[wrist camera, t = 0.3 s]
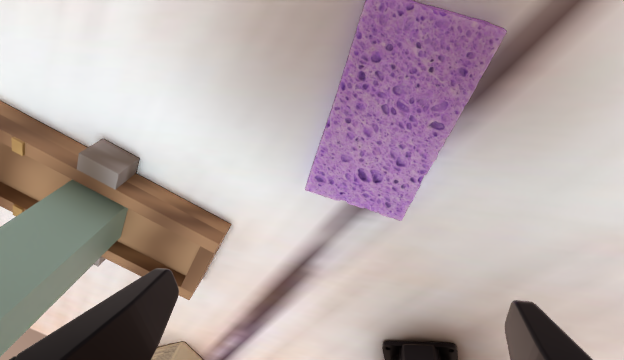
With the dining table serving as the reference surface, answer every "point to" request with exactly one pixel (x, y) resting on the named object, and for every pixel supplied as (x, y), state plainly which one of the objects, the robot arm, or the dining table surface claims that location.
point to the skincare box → (175, 352)
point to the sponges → (399, 102)
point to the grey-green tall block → (51, 252)
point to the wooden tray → (116, 186)
